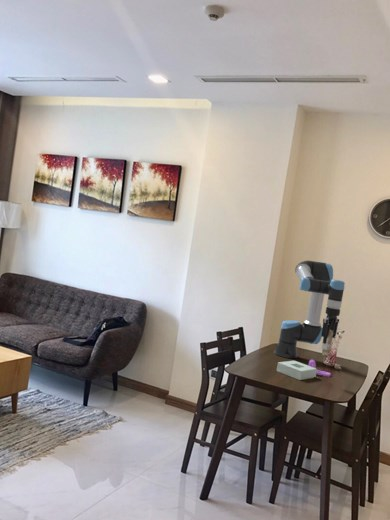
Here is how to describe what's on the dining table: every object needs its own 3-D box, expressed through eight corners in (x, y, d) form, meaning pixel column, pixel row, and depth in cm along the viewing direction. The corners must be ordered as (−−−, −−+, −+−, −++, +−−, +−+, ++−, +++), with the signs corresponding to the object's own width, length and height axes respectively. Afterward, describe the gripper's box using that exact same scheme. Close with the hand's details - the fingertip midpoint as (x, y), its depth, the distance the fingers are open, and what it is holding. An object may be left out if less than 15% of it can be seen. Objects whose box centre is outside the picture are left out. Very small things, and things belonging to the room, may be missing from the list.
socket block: (292, 368, 286) (294, 360, 286) (315, 377, 275) (317, 368, 274) (276, 370, 275) (277, 362, 275) (299, 380, 264) (301, 371, 263)
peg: (324, 353, 271) (328, 329, 270) (330, 355, 268) (334, 331, 267) (320, 354, 268) (324, 329, 267) (326, 356, 265) (330, 331, 264)
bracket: (307, 372, 283) (309, 361, 283) (307, 370, 288) (309, 359, 288) (330, 377, 280) (332, 365, 280) (329, 374, 286) (331, 363, 286)
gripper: (335, 306, 275) (328, 346, 276) (319, 306, 263) (312, 347, 265) (347, 309, 269) (340, 349, 271) (331, 309, 258) (324, 351, 259)
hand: (326, 348), depth 268 cm, fingers closed on peg, 4 cm apart
